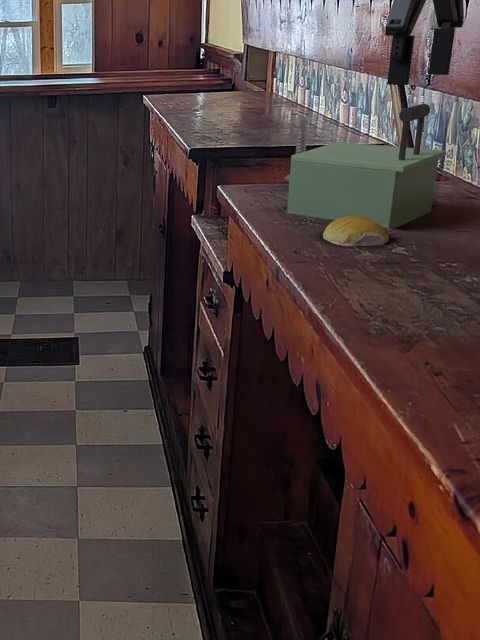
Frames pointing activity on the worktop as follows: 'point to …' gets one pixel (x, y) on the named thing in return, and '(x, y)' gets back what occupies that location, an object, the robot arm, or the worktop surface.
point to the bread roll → (355, 232)
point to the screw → (300, 140)
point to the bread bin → (361, 192)
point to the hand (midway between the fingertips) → (418, 79)
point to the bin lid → (378, 149)
